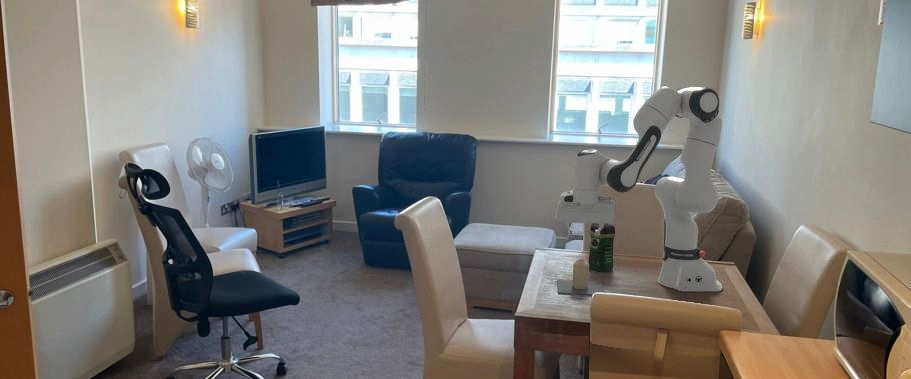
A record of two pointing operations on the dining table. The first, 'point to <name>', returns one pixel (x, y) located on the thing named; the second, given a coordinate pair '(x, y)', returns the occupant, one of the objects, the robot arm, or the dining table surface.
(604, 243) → the coffee jar
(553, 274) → the dining table surface
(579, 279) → the candle
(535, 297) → the dining table surface
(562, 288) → the placemat
